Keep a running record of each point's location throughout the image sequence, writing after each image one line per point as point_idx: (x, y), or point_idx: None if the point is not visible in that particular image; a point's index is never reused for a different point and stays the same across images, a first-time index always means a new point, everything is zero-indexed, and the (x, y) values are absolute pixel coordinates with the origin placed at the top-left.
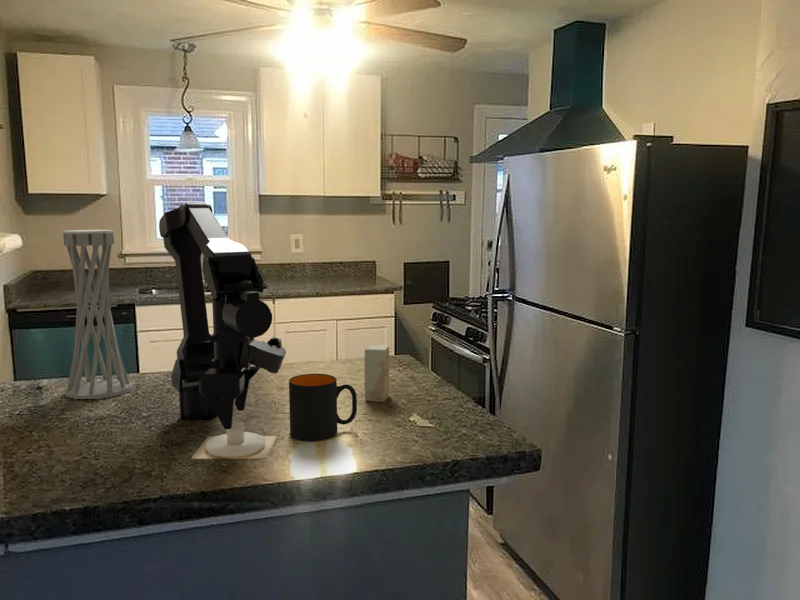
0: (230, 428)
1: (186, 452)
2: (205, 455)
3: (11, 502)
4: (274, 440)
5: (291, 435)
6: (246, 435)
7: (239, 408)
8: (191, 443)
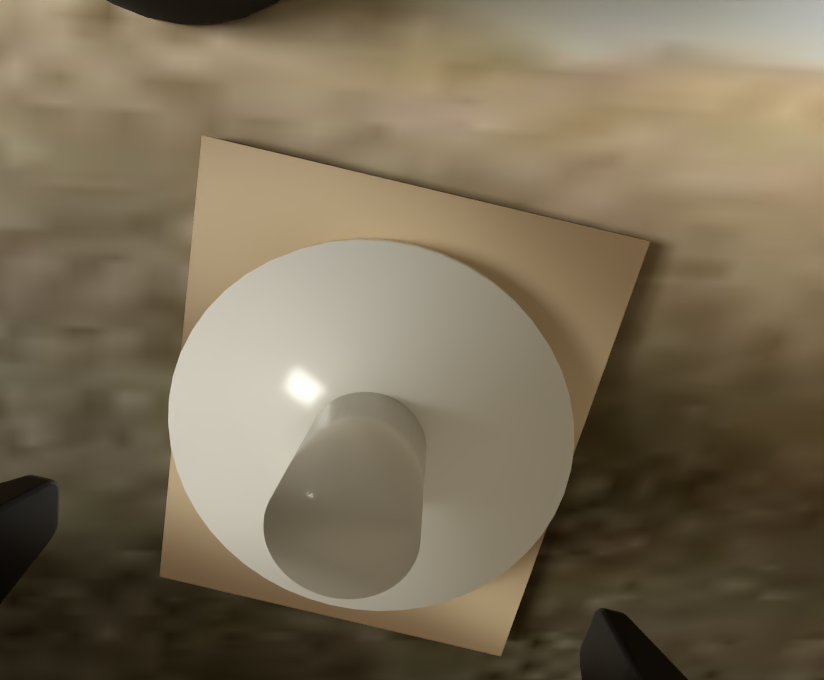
0: (621, 616)
1: (349, 655)
2: (474, 591)
3: None
4: (300, 162)
5: (233, 3)
6: (245, 374)
7: (42, 531)
8: (218, 635)
